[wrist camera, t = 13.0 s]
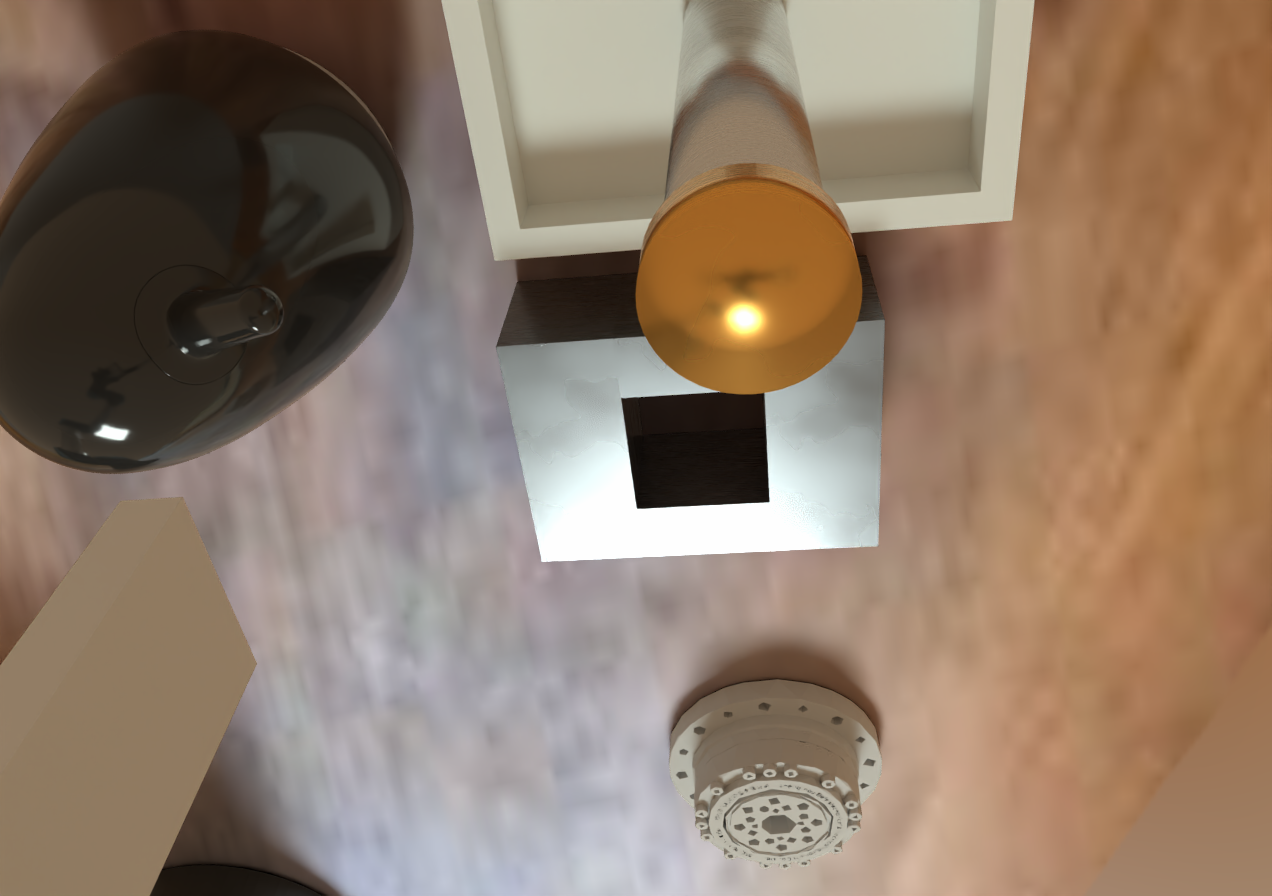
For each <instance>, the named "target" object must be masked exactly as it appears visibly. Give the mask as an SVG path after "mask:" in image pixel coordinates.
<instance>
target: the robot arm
mask: <svg viewBox="0 0 1272 896" xmlns="http://www.w3.org/2000/svg"><path fill="white" fill-rule="evenodd" d="M256 664H257V663H256V661H255V658H254V656H253V654H252V652H251V649H250V647H249V645H248V643H247V640H246V638H245V636H244V634H243V631H242V629H241V627H240V625H239V622H238V620H237V618H236V616H235V614H234V611H233V609H232V607H231V605H230V602H229V600H228V598H227V596H226V593H225V591H224V589H223V587H222V584H221V582H220V580H219V578H218V575H217V573H216V571H215V569H214V566H213V564H212V562H211V560H210V557H209V555H208V553H207V551H206V548H205V546H204V544H203V542H202V539H201V537H200V535H199V533H198V530H197V528H196V526H195V524H194V521H193V519H192V517H191V515H190V512H189V510H188V508H187V506H186V503H185V501H184V499H183V497H177V498H161V499H145V500H129V501H120V503H119V504H118V505H117V507H116V508H115V509H114V511H113V512H112V513H111V515H110V516H109V518H108V519H107V520H106V522H105V523H104V524H103V526H102V527H101V528H100V530H99V531H98V533H97V534H96V535H95V537H94V538H93V539H92V541H91V542H90V544H89V545H88V546H87V548H86V549H85V550H84V552H83V553H82V554H81V556H80V557H79V559H78V560H77V561H76V563H75V564H74V565H73V567H72V568H71V569H70V571H69V572H68V574H67V575H66V576H65V578H64V579H63V580H62V582H61V583H60V584H59V586H58V587H57V589H56V590H55V591H54V593H53V594H52V595H51V597H50V598H49V600H48V601H47V602H46V604H45V605H44V606H43V608H42V609H41V610H40V612H39V613H38V615H37V616H36V617H35V619H34V620H33V621H32V623H31V624H30V625H29V627H28V628H27V630H26V631H25V632H24V634H23V635H22V636H21V638H20V639H19V641H18V642H17V643H16V645H15V646H14V647H13V649H12V650H11V651H10V653H9V654H8V656H7V657H6V658H5V660H4V661H3V662H2V664H1V665H0V896H321V895H320V894H318V893H316V892H314V891H312V890H310V889H308V888H306V887H303V886H301V885H299V884H296V883H294V882H291V881H289V880H286V879H283V878H280V877H277V876H273V875H270V874H266V873H262V872H258V871H253V870H248V869H242V868H235V867H227V866H212V865H197V866H183V867H176V868H170V869H165V870H162V868H163V866H164V863H165V861H166V859H167V857H168V855H169V853H170V850H171V848H172V846H173V844H174V842H175V840H176V837H177V835H178V833H179V831H180V829H181V827H182V824H183V822H184V820H185V818H186V816H187V814H188V811H189V809H190V807H191V805H192V803H193V801H194V799H195V796H196V794H197V792H198V790H199V788H200V786H201V783H202V781H203V779H204V777H205V775H206V773H207V770H208V768H209V766H210V764H211V762H212V760H213V757H214V755H215V753H216V751H217V749H218V747H219V744H220V742H221V740H222V738H223V736H224V734H225V731H226V729H227V727H228V725H229V723H230V721H231V718H232V716H233V714H234V712H235V710H236V708H237V705H238V703H239V701H240V699H241V697H242V695H243V692H244V690H245V688H246V686H247V684H248V682H249V679H250V677H251V675H252V673H253V671H254V669H255V666H256ZM161 870H162V871H161Z"/></svg>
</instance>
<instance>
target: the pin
mask: <svg viewBox="0 0 1272 896" xmlns="http://www.w3.org/2000/svg"><path fill="white" fill-rule="evenodd" d="M861 302H862V277H861V273H860V268H859V264H858V259H857V255H856V251H855V247H854V243H853V239H852V235H851V232H850V229H849V226H848V224H847V221H846V219H845V217H844V215H843V214H842V212H841V210H840V208H839V207H838V206H837V204H836V203H835V202H834V200H833V199H832V198H831V197H830V196H829V195H828V194H827V193H826V192H825V191H824V190H823V188H822V183H821V178H820V174H819V169H818V164H817V159H816V155H815V150H814V145H813V141H812V136H811V131H810V126H809V122H808V117H807V112H806V107H805V103H804V98H803V93H802V89H801V84H800V79H799V74H798V70H797V65H796V60H795V55H794V51H793V46H792V41H791V37H790V32H789V27H788V22H787V18H786V13H785V8H784V5H783V2H782V0H689V2H688V5H687V7H686V10H685V14H684V22H683V31H682V40H681V50H680V59H679V68H678V78H677V87H676V96H675V105H674V115H673V124H672V133H671V143H670V152H669V161H668V171H667V180H666V189H665V199H664V202H663V203H662V205H661V206H660V207H659V209H658V210H657V211H656V213H655V214H654V216H653V218H652V220H651V221H650V223H649V226H648V228H647V231H646V233H645V236H644V239H643V244H642V248H641V254H640V261H639V269H638V276H637V284H636V309H637V314H638V319H639V322H640V325H641V328H642V331H643V333H644V335H645V337H646V339H647V341H648V343H649V344H650V346H651V347H652V349H653V350H654V351H655V353H656V354H657V355H658V356H659V357H660V358H661V360H662V361H663V362H664V363H665V364H666V365H667V366H669V367H670V368H671V369H672V370H674V371H675V372H676V373H678V374H679V375H681V376H682V377H684V378H685V379H687V380H689V381H691V382H693V383H695V384H697V385H700V386H702V387H705V388H708V389H711V390H715V391H720V392H724V393H732V394H759V393H767V392H772V391H776V390H781V389H784V388H786V387H789V386H792V385H795V384H797V383H799V382H801V381H803V380H805V379H807V378H809V377H810V376H812V375H813V374H815V373H817V372H818V371H819V370H821V369H822V368H823V367H824V366H826V365H827V364H828V363H829V362H830V361H831V360H832V359H833V358H834V357H835V356H836V355H837V354H838V353H839V352H840V350H841V349H842V348H843V346H844V345H845V344H846V342H847V341H848V339H849V337H850V335H851V333H852V332H853V330H854V327H855V325H856V322H857V320H858V316H859V312H860V308H861Z"/></svg>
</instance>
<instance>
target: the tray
mask: <svg viewBox="0 0 1272 896" xmlns="http://www.w3.org/2000/svg"><path fill="white" fill-rule="evenodd" d="M688 2H689V0H442V5H443V10H444V15H445V20H446V25H447V30H448V35H449V40H450V44H451V49H452V54H453V59H454V64H455V69H456V74H457V79H458V84H459V89H460V93H461V98H462V103H463V108H464V113H465V118H466V123H467V128H468V133H469V137H470V142H471V147H472V152H473V157H474V162H475V167H476V172H477V177H478V181H479V186H480V191H481V196H482V201H483V206H484V211H485V216H486V221H487V226H488V230H489V235H490V240H491V245H492V250H493V255H494V260H495V261H501V260H513V259H526V258H539V257H551V256H564V255H577V254H590V253H602V252H615V251H628V250H641V248H642V244H643V239H644V236H645V233H646V231H647V228H648V226H649V223H650V221H651V220H652V218H653V216H654V214H655V213H656V211H657V210H658V209H659V207H660V206H661V205H662V203H663V202H664V199H665V189H666V180H667V171H668V161H669V152H670V143H671V133H672V124H673V115H674V105H675V96H676V87H677V78H678V68H679V59H680V50H681V40H682V31H683V22H684V14H685V10H686V7H687V5H688ZM782 2H783V5H784V8H785V13H786V18H787V22H788V27H789V32H790V37H791V41H792V46H793V51H794V55H795V60H796V65H797V70H798V74H799V79H800V84H801V89H802V93H803V98H804V103H805V107H806V112H807V117H808V122H809V126H810V131H811V136H812V141H813V145H814V150H815V155H816V159H817V164H818V169H819V174H820V178H821V183H822V188H823V190H824V191H825V192H826V193H827V194H828V195H829V196H830V197H831V198H832V199H833V200H834V202H835V203H836V204H837V206H838V207H839V208H840V210H841V212H842V214H843V215H844V217H845V219H846V221H847V224H848V226H849V229H850V232H851V233H857V232H870V231H883V230H895V229H908V228H921V227H933V226H946V225H959V224H972V223H984V222H997V221H1010V220H1012V216H1013V206H1014V196H1015V187H1016V177H1017V167H1018V157H1019V147H1020V138H1021V128H1022V118H1023V108H1024V98H1025V89H1026V79H1027V69H1028V59H1029V49H1030V39H1031V30H1032V20H1033V10H1034V0H782Z"/></svg>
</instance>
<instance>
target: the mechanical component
mask: <svg viewBox="0 0 1272 896" xmlns="http://www.w3.org/2000/svg"><path fill="white" fill-rule="evenodd" d="M669 768H670V776H671V779H672V781H673V783H674V785H675V788H676V790H677V792H678V793H679V794H680V795H681V796H682V797H683V798H684V799H685V800H686V802H687V803H688V804H689V805H690V806H691V807H693V808H694V810H695V817H696V822H695V826H696V828H698V829H700V830H701V839H702V840H704V841H709V842H711V843H712V844H713V845H715V846H716V847H717V848H719V849H720V850H722V851H724V856H725V858H726V859H730V860H733V859H735V858H736V857H739V858H742V859H746V860H749V861H756V862H759V864H760V867H761V868H763V869H769V868H771V867H772V863H773V864H779V867H780V868H781V869H789V868H790V867H791V863H796V862H798V865H800V866H801V867H807V866H809V865H810V860H811V859H816V858H818V857H820V856H823V855H825V854H827V853H830V852H831V853H834V854H838V853H841V852H842V845H843V844H844V843H846V842H847V841H848V840H849V839H850V838H851V837H852V835H853V834H854V833H856V832H859V831H860V829H861V827H860V819H861V818H862V812H861V805H862V803H863V802H864V801H865V800H866V799H867V798H868V797H869V796H870V795H871V793H872V792H873V791H874V790H875V788H876V785H877V783H878V780H879V778H880V775H881V768H882V757H881V752H880V748H879V743H878V738H877V733H876V728H875V727H874V725H873V724H872V723H871V721H870V720H869V718H868V717H867V715H866V714H865V712H864V711H863V710H861V709H860V708H859V707H858V706H857V705H855V704H854V703H853V702H852V701H851V700H849V699H847V698H845V697H843V696H842V695H840V694H838V693H836V692H834V691H832V690H829V689H826V688H823V687H820V686H817V685H813V684H810V683H802V682H795V681H787V680H779V679H775V680H765V681H755V682H745V683H740V684H737V685H733V686H729V687H726V688H723V689H721V690H719V691H716V692H714V693H712V694H710V695H708V696H706V697H704V698H702V699H700V700H699V701H698V702H697V703H696V704H694V705H693V706H692V707H691V708H690V709H689V710H688V711H687V712H685V713H684V714H683V715H682V716H681V718H680V720H679V721H678V723H677V725H676V727H675V728H674V730H673V732H672V733H671V740H670V756H669Z"/></svg>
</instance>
